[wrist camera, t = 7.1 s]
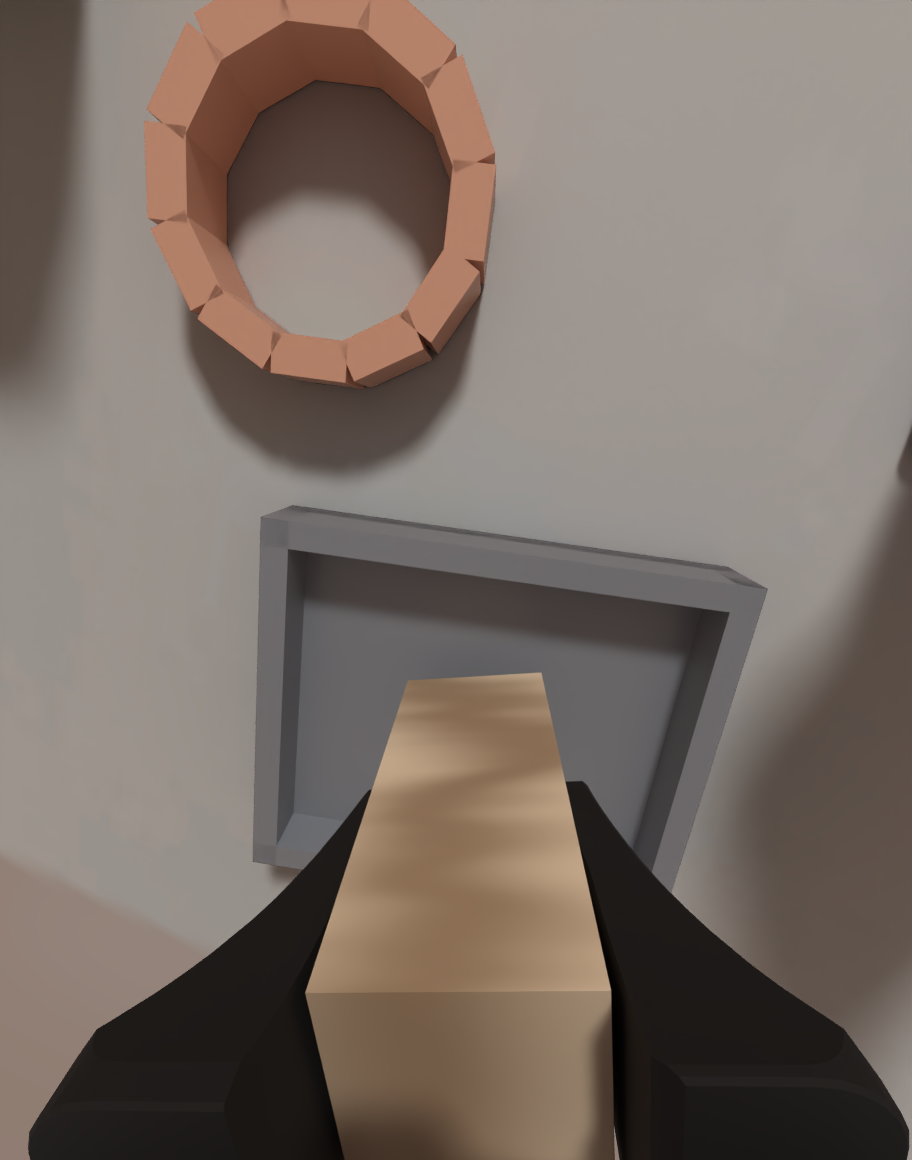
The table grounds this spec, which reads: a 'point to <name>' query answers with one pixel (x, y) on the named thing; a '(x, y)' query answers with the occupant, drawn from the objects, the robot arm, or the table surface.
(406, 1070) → the oak peg
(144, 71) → the table surface
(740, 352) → the table surface
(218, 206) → the segmented block ring
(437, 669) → the tray
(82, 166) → the table surface
